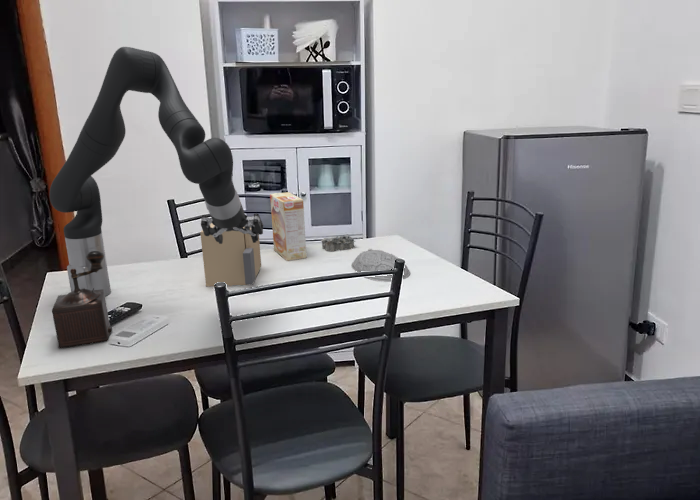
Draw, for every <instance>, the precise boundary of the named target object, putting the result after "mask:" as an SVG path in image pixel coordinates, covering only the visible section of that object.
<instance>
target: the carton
mask: <svg viewBox="0 0 700 500" xmlns="http://www.w3.org/2000/svg"><path fill="white" fill-rule="evenodd" d="M214 226H215V225H213V224H212V223H211V224H210V227H211V228H213V227H214ZM243 228H244V227H243ZM199 235H200V244H201V250H202V251H201V253H202V261H203V269H204V280H205V287H208V288H209V287H215V286H214V284H215V283H217V282H225V283H226V284H227V285H229V286H228V287H233V286H232V285H245V273H244V262H243V252H244V251H245V249H246V241H245V234H244V233H242V232H240V231H224V232H223V233H222V236H223V242H222V244H219V242H217V241H216V240H215V238H214V237H213V236H212V235H209V236H205V235H204V232H203V230H202V229H201V230H200V234H199Z"/></svg>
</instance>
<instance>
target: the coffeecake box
mask: <svg viewBox="0 0 700 500" xmlns="http://www.w3.org/2000/svg"><path fill="white" fill-rule="evenodd" d="M269 199H270V200H269V201H270V211H271V212H270V213H271V224H272V225H271V227H272V241H273V251H275V252H276V253H277V254H278V255H279V256H280V257H281V258H283V259H284V260H285V261H287V262H290V261H297V260H302V259H303V260H304V259H307V244H306V243H307V242H306V228H305V227H306V225H305V211H304V210H305V207H304V199H303V198H300V197H299V196H297V195H295V194H293V193H292V192H289V191H287V192H276V193H270V194H269Z"/></svg>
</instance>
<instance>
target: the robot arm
mask: <svg viewBox="0 0 700 500" xmlns="http://www.w3.org/2000/svg"><path fill="white" fill-rule="evenodd" d="M128 91H132V92H138V93H143V94H151V95H153V96H154V98H156V99H157V100H158V101H159V105H158V115H157V117H158V122H159V124H160V126H161V129H162V130H163V131H164V133H165V134H166V136H167V137H168V139H169V140H170V141H171V143H172V145H173V146H174V148H175V150H176V153H177V156H178V161H179V166H180V169H181V171H182V172H181V173H182V174H183V176H184V177H185V178H186V179H187V181H188V182H190V183H193V184H196V185H198V187H199V190H200V193H201V194H202V197H203V199H204V204H205V207H206V210H207V211H208V213H209V216H210V217H208V216H207V214H206V215H205V214H202V215H201V218H200V219H201V221H200V227H201V231H202V230H203V232H204V235H205V236H209V235H212V236H213V237H214V238H215V240H216V241H217V242H219V244H222V242H223V236H222V233H223V232H224V231H240V232H242V233H244V234H249V235H251V238H252V241H253V243H256V241H258V236H259V237H260V235H263V234H264V223H263V221H262V219H261V216H260V214H259V213H257V212H256V213H253V216H248V215H246V213H245V211H244V207H243V205H242V201H241V199H240V196H239V194H238V192H237V190H236V188H235V186H234V182H233V170H234V158H233V153H232V150H231V148H230V146H229V144H228V143H227V142H226V141H225V140H223V139H222V138H219V137H211V138H208V139H207V140H206V132H205V129H204V127H203V126H202V125H201V123H200V122H199V120H198V119H197V118H196V116H195V115H194V113H193V112H192V111H191V109H189V107H188V105H187V104H186V103H185V101H184V99H183V97H182V94H181V92H180V91H179V88H178V86H177V84H176V82H175V80H174V78H173V76H172V74H171V72H170V70H169V67H168V66H167V64H166V62H165V61H164V58H162V57H161V55H159V54H158V53H155V52H152V51H150V50H144V49H139V48H135V47H131V46H121V47H119V48H117V50H115V52H114V54H113V55H112V57H111V60H110V62H109V65H108V67H107V70H106V73H105V75H104V79H103V81H102V84H101V86H100V90H99V92H98V95H97V98H96V100H95V102H94V105H93V107H92V109H91V111H90V113H89V115H88V117H87V118H86V120H85V122H84V124H83V126H82V128H81V130H80V132H79V135H78V137H77V139H76V142H75V143H74V145H73V147H72V150H71V152H70V154H69V155H68V157H67V159H66V160H65V162H64V164H63V166H61V168H60V170H59V172H57V174H56V176H55V177H54V178H53V180H52V181H51V185H50V188H49V201H50V204H51V206H52V207H53V209H55V210H56V211H58V212H60V213H65V214H66V213H67V214H68V213H75V212H76V215H75V216H74V217H73V219H72V220H70V221H69V222H68V223H66V225H64V227H63V236H64V241H65V247H66V252H67V258H68V259H67V260H68V265H67V266H66V270H67V276H68V281H69V282H68V283H69V287H70V292H71V291H74V289H75V288H74V282H73V278H71V273H70V270H71V269H76V274H78V273H83V272H87V271H90V268H91V264H90V263H89V261H88V260H87V259H86V256H87V254H88V253H89V252H92V251H100V252H102V253H103V255H104V259H103V260H102V262H101V266H102V267H103V269H100V270H99V271H97V273H96V272H93V273H90V274H88V275H85V276H81V277H78V278H77V281H78V285H79V288H80V289H83V288H85V289H88V290H93V288H94V290H101V289H104V294H105V297H106V296H109V295H110V294H111V293H112V290H111V283H110V276H109V271H108V263H107V257H106V252H105V246H104V238H103V237H104V236H103V231H102V224H103V213H102V211H103V210H102V203H101V194H100V189H99V186H98V182H97V181H96V179H95V178H94V177H93V175H94V174H95V173H97V172H98V171H99V170H101V168H103V167H104V166H105V165H106V164H108V163H109V162H110V161H111V160H112V159H113V158H115V156H116V154H117V152H118V151H119V149H120V147H121V145H122V144H123V141H124V139H125V137H126V124H125V120H124V116H123V114H122V110H121V103H122V101H123V99H124V96H125V94H126V93H128ZM211 223H212V224H213V225H215V226H214V227H213V228H211V227H210V224H211ZM243 227H244V228H243ZM250 228H251V230H250ZM258 234H259V235H258Z"/></svg>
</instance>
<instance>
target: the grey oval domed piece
mask: <svg viewBox="0 0 700 500" xmlns="http://www.w3.org/2000/svg"><path fill="white" fill-rule="evenodd" d="M396 259H400V258H399V257H397V256H396V255H394V254H393V253H389V252H386V251H384V250H380V249H373V248H368V249H367V250H364V251H362V252H360V253H359V254H358V255H357V256H356V257H355V259H354V260H353V261H352V263H351V268H352V270H354V272H356V271H357V272H361V271H378V270H391V269H392V270H393V267H394V261H395V260H396ZM357 272H356V273H357ZM392 276H393V275H391V274H389V275H387V276H375V277H365V278H366V279H370V280H372V281H375V282H381V283H382V282H383V283H392V282H391V278H392ZM410 276H411V271H410V269H409V267H408V266H407V265H406V264H405V268H404V275H403V280H405V279H407V278H409V277H410Z"/></svg>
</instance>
